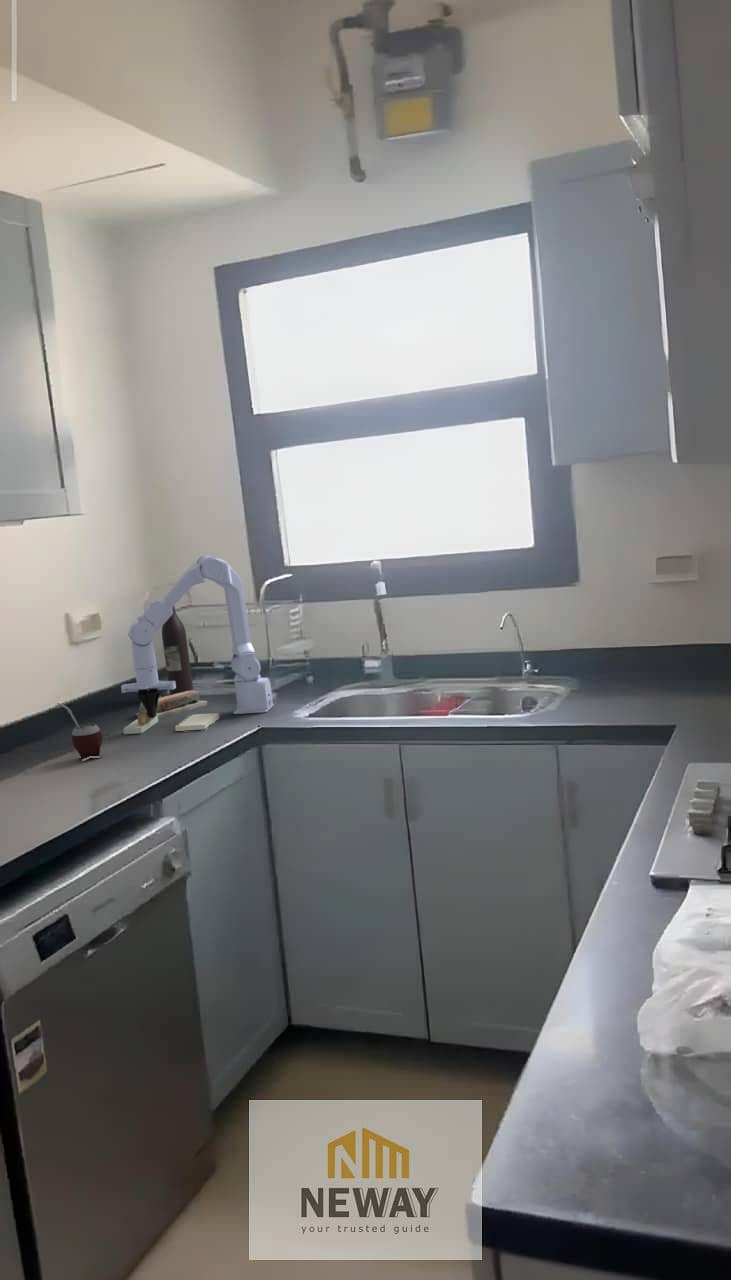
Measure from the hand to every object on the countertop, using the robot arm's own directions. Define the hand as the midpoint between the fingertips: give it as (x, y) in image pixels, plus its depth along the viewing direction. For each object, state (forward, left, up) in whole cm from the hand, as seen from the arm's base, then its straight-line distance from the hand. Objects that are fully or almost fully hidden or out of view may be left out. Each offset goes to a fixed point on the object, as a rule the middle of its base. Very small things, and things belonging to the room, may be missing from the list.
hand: (152, 717), depth 283 cm
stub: (+4, 0, -3) cm, 4 cm away
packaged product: (+2, -19, -4) cm, 20 cm away
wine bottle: (+5, -36, -3) cm, 36 cm away
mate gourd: (+7, +27, -3) cm, 28 cm away
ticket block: (-12, 0, -3) cm, 13 cm away
